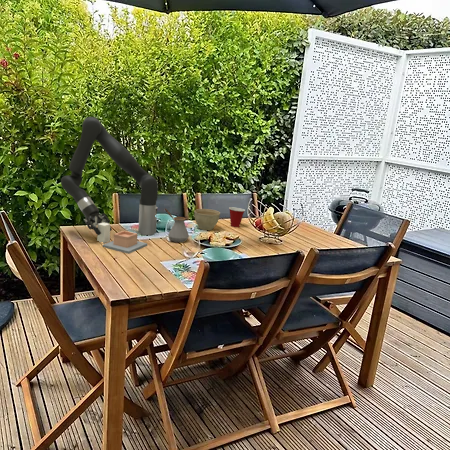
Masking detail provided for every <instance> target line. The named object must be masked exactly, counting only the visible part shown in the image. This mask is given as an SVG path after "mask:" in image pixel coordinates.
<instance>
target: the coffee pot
mask: <svg viewBox="0 0 450 450" xmlns="http://www.w3.org/2000/svg"><path fill="white" fill-rule="evenodd" d="M162 211H165V212H166V213H167V215H168V216H169V217H170V218H171V219H172V220H173V221H174V222H173V225H172V226H171V229H170V230H169V233H168V238H169V239H170V240H171V241H172V242H175V243H185V242H186V241H187V240H188V239H189V237H190V235H189V232H188V229H187V226H186V224H185V220H186V219H187V218H186V217H184V216H173V215H172V213H171V212H170V211H169V210H168V209H167V208H166V207H165V208H164V209H162ZM184 241H185V242H184Z"/></svg>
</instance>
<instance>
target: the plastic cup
mask: <svg viewBox="0 0 450 450" xmlns="http://www.w3.org/2000/svg"><path fill="white" fill-rule="evenodd" d="M228 209H229V217H230V226H231V227H233V228H239V227H240V226H241V222H242V220H243V216H244V213H245V212H246V209H244V208H240V207H233V206H231V207H230V206H229V207H228Z"/></svg>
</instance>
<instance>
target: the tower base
mask: <svg viewBox="0 0 450 450" xmlns="http://www.w3.org/2000/svg"><path fill="white" fill-rule="evenodd" d="M138 234H139V233H136V232H132V231H129V230H121V231H118V232H116V233H113V240H112V241H111V240H110V241H109V242H106V243H102V248H104V247H105V249H109V250H111V251H112V250H113V251H117V252H120V253H125V254H129V255H130V254H131V253H133V252H136V251H138V250H140V249H143V248H145V247H147V246H148V243H147V242H143V241H140V240H138Z"/></svg>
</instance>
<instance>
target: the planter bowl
mask: <svg viewBox="0 0 450 450" xmlns="http://www.w3.org/2000/svg"><path fill="white" fill-rule="evenodd" d="M193 213H194V220H195V223H196V224H197V226H198V227H197V228H198V229H200V230H203V231H212V230H214V229H215V227H216V225H217V224H218V223H219V219H220V216H221V212H220V211H218V210H216V209H210V208H198V209H195V210H194V212H193Z"/></svg>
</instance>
